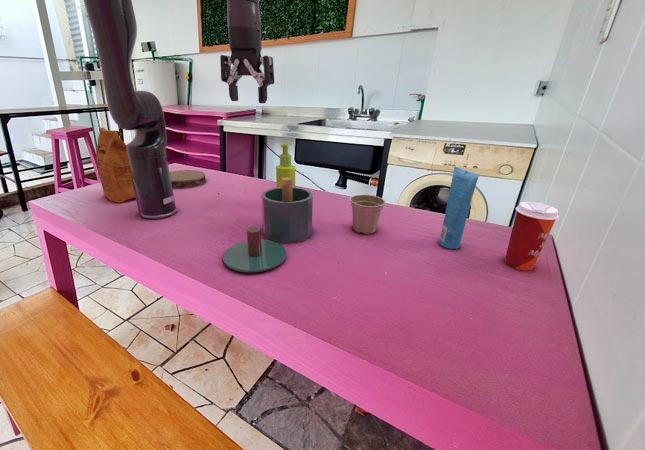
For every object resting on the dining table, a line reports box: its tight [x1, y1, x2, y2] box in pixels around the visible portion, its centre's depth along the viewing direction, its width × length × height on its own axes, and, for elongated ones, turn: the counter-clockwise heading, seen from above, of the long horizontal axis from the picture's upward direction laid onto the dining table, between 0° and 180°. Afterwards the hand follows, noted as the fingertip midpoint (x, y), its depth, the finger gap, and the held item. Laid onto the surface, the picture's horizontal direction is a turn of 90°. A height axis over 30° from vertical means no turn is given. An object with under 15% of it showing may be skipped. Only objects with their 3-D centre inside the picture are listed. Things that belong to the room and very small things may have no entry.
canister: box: [260, 186, 314, 244], centre depth 78 cm, size 13×13×11 cm
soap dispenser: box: [275, 142, 296, 188], centre depth 94 cm, size 6×7×20 cm
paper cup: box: [504, 201, 560, 272], centre depth 66 cm, size 8×8×14 cm
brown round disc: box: [169, 169, 207, 190], centre depth 117 cm, size 16×16×3 cm
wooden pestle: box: [282, 178, 293, 202], centre depth 77 cm, size 4×4×14 cm
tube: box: [438, 166, 480, 250], centre depth 72 cm, size 7×5×19 cm, turn 26°
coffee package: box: [95, 126, 136, 203], centre depth 96 cm, size 10×12×22 cm
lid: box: [222, 226, 287, 273], centre depth 66 cm, size 14×14×7 cm
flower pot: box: [349, 194, 386, 235], centre depth 81 cm, size 9×9×9 cm
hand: (248, 102), depth 77 cm, fingers open, 8 cm apart
